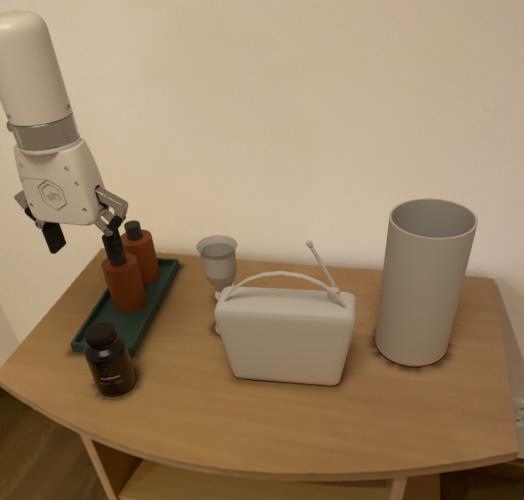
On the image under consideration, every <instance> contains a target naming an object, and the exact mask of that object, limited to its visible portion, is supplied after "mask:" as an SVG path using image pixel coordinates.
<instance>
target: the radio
mask: <svg viewBox="0 0 524 500" xmlns="http://www.w3.org/2000/svg"><path fill="white" fill-rule="evenodd" d="M305 245H306V246H307V248H309V250H310V251H311V254H313V256H314V258H315V260H316V261H317V263H318V265H319V266H320V268H321V269H322V271H323V273H324V274H325V276H326V278H327V279H328V282H329V283H330V284H331V285H330V286H329V285H327V284H325V283H324V282H323V281H321V280H319V279H317V278H314V277H312V276H309V275H306V274H305V273H299V272H292V271H286V270H278V271H277V270H276V271H263V272H260V273H258V274H255V275H252V276H248V277H246V278H245V279H243V280H242V281H240V282H239V283H237V284H236V285H234V286H229V287H226V288H224V289H223V290H222V292H221V294H220V297H219V299H218V300H217V302H216V305H215V307H214V310H213V317H214V320H215V323H217V326H218V329H219V332H220V334H219V335H220V338H221V342H222V344H223V347H224V350H225V353H226V356H227V360H228V362H229V365H230V368H231V371H232V374H233V376H235V377H236V378H238V379H244V380H245V379H246V380H256V381H266V382H267V381H269V382H282V383H293V384H306V385H316V386H317V385H319V386H331V387H332V386H337V385H339V383H340V382H341V379H342V374H343V371H344V367H345V363H346V360H347V357H348V352H349V350H350V346H351V343H352V337H353V335H354V331H355V328H356V324H357V310H358V309H357V307H358V302H357V297H356V296H355V294H353V293H352V292H349V291H343V290H341V291H340V288H339V287H338V286H337V284H336V282H335V281H334V279H333V277H332V275H331V274H330V272H329V270H328V269H327V267H326V265H325V264H324V262H323V260H322V258H321V257H320V255H319V253H318V252H317V250H316V248H315V247H314V243H313V242H312V240H311V239H308V240H307V241H306V242H305ZM273 276H285V277H292V278H299V279H303V280H306V281H308V282H311V283H312V284H315V285H318V286H320V287H321V288H323V289H325V290H320V289H300V288H299V289H297V288H282V287H281V288H280V287H279V288H278V287H277V288H276V287H259V286H243V285H244V284H246V283H247V282H250V281H254V280H256V279H259V278H263V277H273Z"/></svg>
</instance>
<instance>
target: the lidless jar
mask: <svg viewBox="0 0 524 500" xmlns="http://www.w3.org/2000/svg"><path fill="white" fill-rule="evenodd" d="M232 286H235V285H234V283H233V284H232ZM220 294H221V293H219V292H217V291H216V290H215V293H214V298H215V300H216V301H218V299H219V297H220Z"/></svg>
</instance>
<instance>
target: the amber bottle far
mask: <svg viewBox="0 0 524 500" xmlns="http://www.w3.org/2000/svg"><path fill="white" fill-rule="evenodd" d="M123 228H124V231H125V232H124V233H122V234H120V237H121V240H122V244H123V247H124V251H125V253H131V254H133V255H134V256H135V257H136V259H137V263H138V266H139V270H140V274H141V278H142V282H143V285H144V286H147V285H151V284H153V283H155V282H157V281H158V280H159V279H160V276H161V274H160V269H159V265H158V261H157V258H158V257H157V252H156V248H155V244H154V240H153V236H152V233H151V232H150V231H149V230H147V229H142V227H141V223H140V221H139V220H135V219H133V220H132V219H131V220H129V221H126V222H125V223H124V224H123Z"/></svg>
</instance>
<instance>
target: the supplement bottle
mask: <svg viewBox="0 0 524 500" xmlns="http://www.w3.org/2000/svg"><path fill="white" fill-rule="evenodd" d="M84 335H85V339H86V343H87V344H86V346H85V349H84V353H83V354H84V358H85V360H86V363H87V365H88V369H89V371H90V374H91V377H92V380H93V382H94V384H95V387H96V389H97V391H98V392H99V393H100V394H102V395H103V396H108V397H117V396H121V395H123V394H126V393H127V392H129V391H130V390H131V389H132V388H133V387H134V385H135V383H136V379H137V378H136V372H135V370H134V366H133V362H132V359H131V356H130V355H129V352H128V348H127V345H126V342H125V340H124V339H123V338H122V337H121V336H119V335H117V332H116V331H115V327H114V326H113V324H111V323H109V322H98V323H95V324H92V325H90V326H89V327H88V328H87V329H86V330H85V334H84Z"/></svg>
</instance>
